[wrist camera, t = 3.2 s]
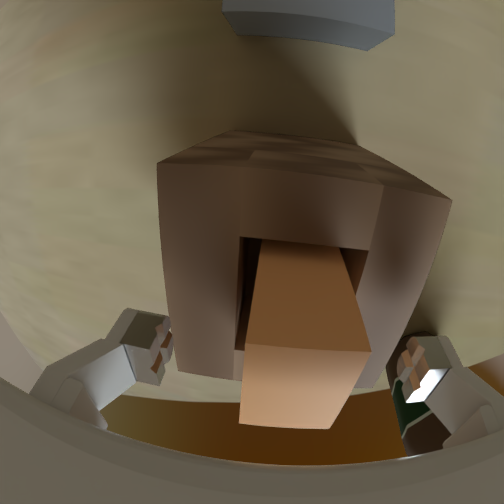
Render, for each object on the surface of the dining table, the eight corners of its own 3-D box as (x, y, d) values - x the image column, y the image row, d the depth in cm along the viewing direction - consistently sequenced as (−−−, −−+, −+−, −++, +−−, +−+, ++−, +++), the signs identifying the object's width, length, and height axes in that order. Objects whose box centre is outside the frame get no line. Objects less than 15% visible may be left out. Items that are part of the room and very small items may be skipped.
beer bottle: (375, 349, 30) (409, 549, 9) (433, 319, 27) (503, 510, 6) (391, 379, 33) (421, 542, 12) (442, 353, 30) (493, 512, 9)
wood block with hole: (358, 145, 20) (452, 200, 8) (337, 257, 25) (372, 387, 13) (230, 130, 21) (156, 163, 9) (225, 245, 26) (178, 370, 13)
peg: (329, 222, 13) (371, 351, 6) (315, 292, 15) (329, 428, 8) (265, 215, 13) (244, 343, 6) (259, 286, 15) (239, 423, 8)
